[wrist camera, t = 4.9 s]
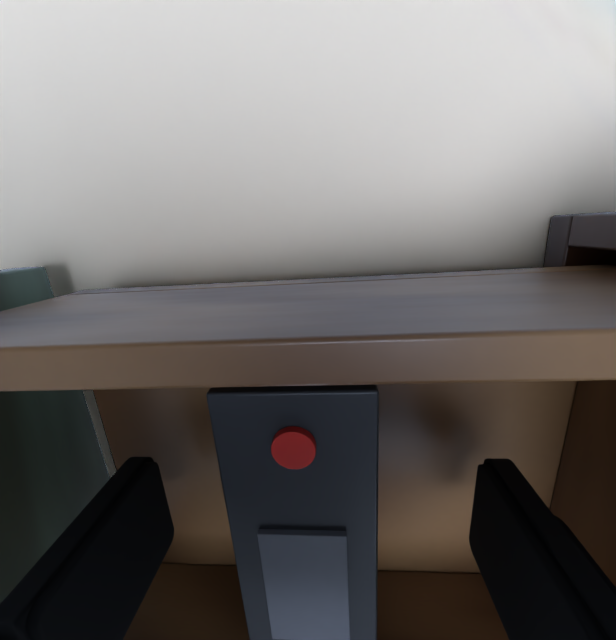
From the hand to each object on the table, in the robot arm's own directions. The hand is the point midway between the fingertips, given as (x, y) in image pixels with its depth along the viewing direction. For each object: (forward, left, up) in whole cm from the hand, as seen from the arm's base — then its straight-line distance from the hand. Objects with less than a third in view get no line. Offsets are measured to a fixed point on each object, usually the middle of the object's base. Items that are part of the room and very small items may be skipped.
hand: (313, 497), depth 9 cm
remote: (0, 0, -2) cm, 2 cm away
